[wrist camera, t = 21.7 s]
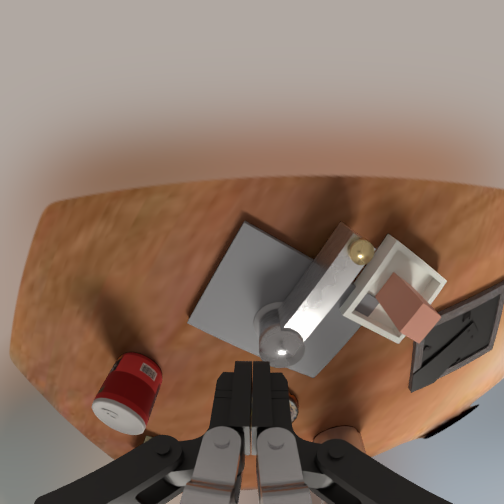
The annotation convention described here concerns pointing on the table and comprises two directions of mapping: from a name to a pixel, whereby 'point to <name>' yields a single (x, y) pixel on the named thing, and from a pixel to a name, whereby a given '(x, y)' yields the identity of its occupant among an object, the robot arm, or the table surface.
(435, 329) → the picture frame
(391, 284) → the block
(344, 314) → the tray
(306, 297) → the crank
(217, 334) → the crank plate
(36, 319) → the table surface
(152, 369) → the canned food
